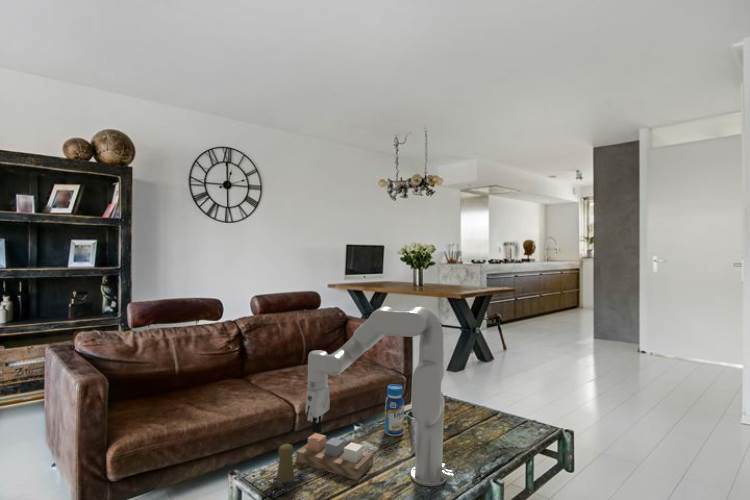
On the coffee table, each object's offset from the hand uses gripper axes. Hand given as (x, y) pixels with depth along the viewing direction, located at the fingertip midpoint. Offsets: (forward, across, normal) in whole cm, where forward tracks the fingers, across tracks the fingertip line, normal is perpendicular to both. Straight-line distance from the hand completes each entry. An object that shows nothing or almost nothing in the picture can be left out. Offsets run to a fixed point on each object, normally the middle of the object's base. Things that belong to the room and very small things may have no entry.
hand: (316, 431), depth 163 cm
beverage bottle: (+10, +34, -17) cm, 40 cm away
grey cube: (+7, 0, -8) cm, 11 cm away
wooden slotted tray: (+10, 0, -8) cm, 13 cm away
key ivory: (+7, 0, -16) cm, 18 cm away
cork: (+10, -16, +2) cm, 19 cm away
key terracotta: (+7, 0, 0) cm, 7 cm away
